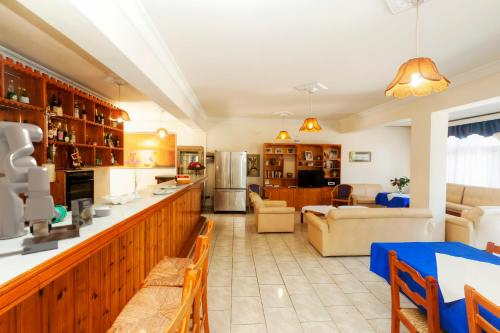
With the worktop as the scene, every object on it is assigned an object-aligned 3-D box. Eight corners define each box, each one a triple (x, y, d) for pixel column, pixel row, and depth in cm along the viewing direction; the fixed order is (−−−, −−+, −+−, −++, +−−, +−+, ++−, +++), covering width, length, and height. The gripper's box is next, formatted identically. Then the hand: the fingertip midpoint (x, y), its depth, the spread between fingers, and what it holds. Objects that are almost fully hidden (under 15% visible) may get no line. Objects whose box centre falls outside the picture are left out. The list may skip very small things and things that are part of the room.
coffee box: (80, 228, 146) (79, 200, 145) (71, 227, 147) (70, 200, 146) (93, 223, 155) (92, 198, 154) (84, 223, 156) (83, 197, 155)
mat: (22, 255, 106) (22, 253, 106) (25, 246, 116) (25, 245, 116) (58, 248, 114) (58, 247, 114) (57, 241, 123) (57, 240, 123)
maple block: (33, 237, 111) (33, 224, 110) (34, 234, 115) (34, 221, 114) (48, 235, 114) (47, 222, 113) (48, 232, 118) (47, 220, 117)
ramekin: (115, 215, 177) (114, 207, 177) (97, 218, 169) (97, 210, 169) (109, 212, 185) (109, 205, 184) (92, 215, 176) (92, 208, 176)
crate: (34, 244, 119) (33, 236, 119) (36, 236, 130) (35, 229, 130) (79, 236, 130) (79, 229, 130) (77, 230, 141) (77, 223, 141)
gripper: (12, 197, 105) (14, 239, 106) (63, 193, 116) (64, 231, 116) (15, 195, 111) (17, 235, 112) (62, 191, 122) (64, 228, 122)
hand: (41, 233), depth 114 cm, fingers closed on maple block, 5 cm apart
